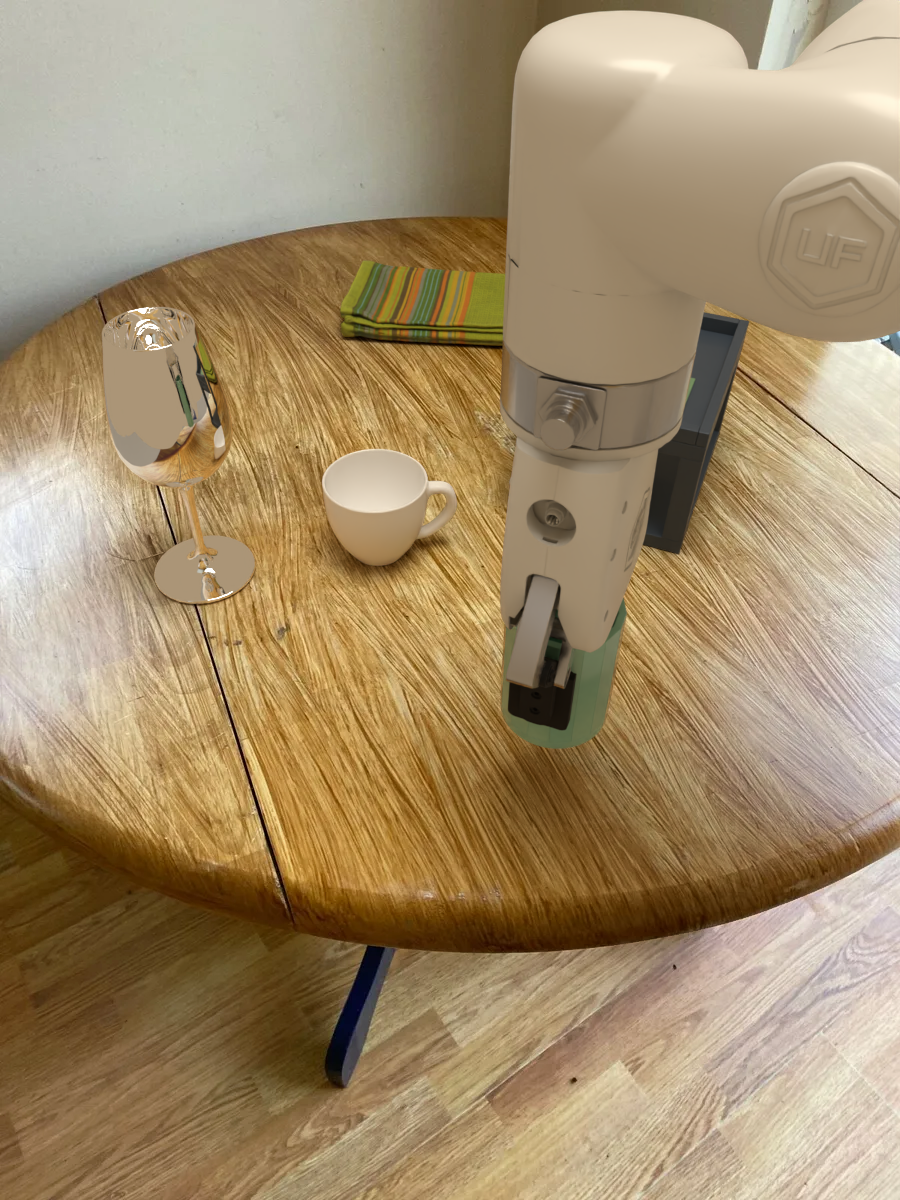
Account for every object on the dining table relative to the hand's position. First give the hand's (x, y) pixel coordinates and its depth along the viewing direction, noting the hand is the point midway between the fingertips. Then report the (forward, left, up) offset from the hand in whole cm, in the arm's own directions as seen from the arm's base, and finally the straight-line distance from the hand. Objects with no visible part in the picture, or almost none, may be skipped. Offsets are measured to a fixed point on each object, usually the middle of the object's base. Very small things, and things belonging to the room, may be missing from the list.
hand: (558, 670), depth 49 cm
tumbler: (0, 0, -3) cm, 3 cm away
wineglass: (+29, -8, -10) cm, 32 cm away
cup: (+17, -16, -10) cm, 26 cm away
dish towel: (+21, -56, -10) cm, 61 cm away
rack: (+3, -33, -10) cm, 35 cm away
